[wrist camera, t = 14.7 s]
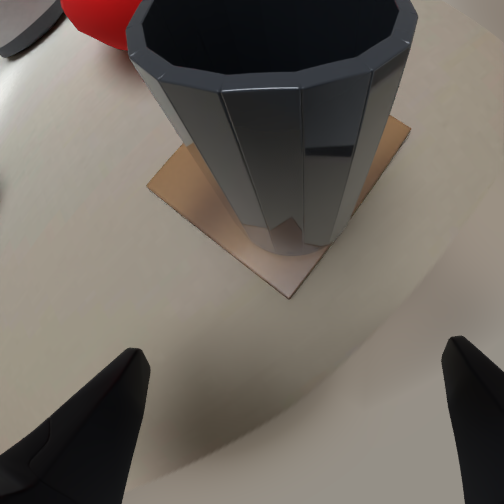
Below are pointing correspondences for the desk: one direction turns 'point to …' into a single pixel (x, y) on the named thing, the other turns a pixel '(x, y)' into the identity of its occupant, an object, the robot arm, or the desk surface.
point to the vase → (102, 18)
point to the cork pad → (229, 234)
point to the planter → (25, 23)
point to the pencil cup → (277, 102)
